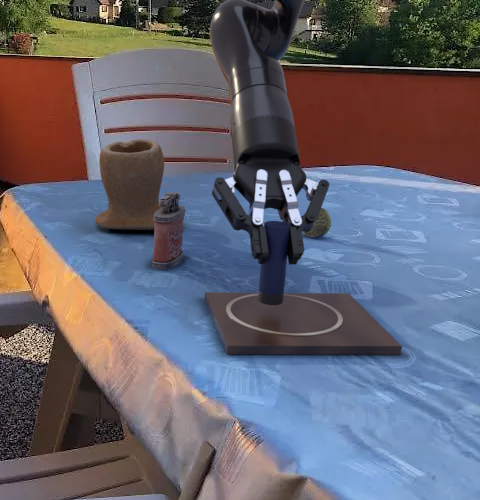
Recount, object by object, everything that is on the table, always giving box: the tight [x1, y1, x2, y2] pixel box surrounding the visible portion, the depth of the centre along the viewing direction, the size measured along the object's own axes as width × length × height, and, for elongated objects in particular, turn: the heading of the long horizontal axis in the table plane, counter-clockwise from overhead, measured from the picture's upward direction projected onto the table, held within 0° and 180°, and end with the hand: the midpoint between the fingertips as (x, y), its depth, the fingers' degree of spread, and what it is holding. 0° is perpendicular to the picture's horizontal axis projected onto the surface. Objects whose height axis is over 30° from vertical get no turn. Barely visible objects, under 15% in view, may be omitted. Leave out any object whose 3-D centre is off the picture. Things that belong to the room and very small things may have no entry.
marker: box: [257, 220, 290, 305], centre depth 79 cm, size 3×3×9 cm
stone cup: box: [95, 138, 186, 231], centre depth 117 cm, size 15×12×15 cm
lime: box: [302, 207, 332, 238], centre depth 117 cm, size 4×5×5 cm
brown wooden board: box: [203, 291, 403, 356], centre depth 80 cm, size 18×16×1 cm
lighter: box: [151, 191, 186, 270], centre depth 101 cm, size 8×3×10 cm, turn 159°
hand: (279, 260), depth 76 cm, fingers closed on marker, 2 cm apart
